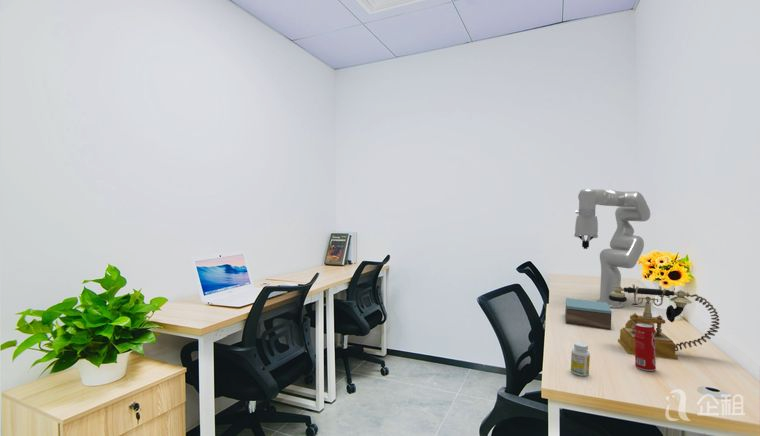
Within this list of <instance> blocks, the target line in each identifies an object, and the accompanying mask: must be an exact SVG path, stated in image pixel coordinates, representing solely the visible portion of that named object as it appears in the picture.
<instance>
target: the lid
mask: <svg viewBox="0 0 760 436" xmlns="http://www.w3.org/2000/svg"><path fill="white" fill-rule="evenodd" d="M597 301H598V300H586V299H580V298H579V299H578V298H577V299H576V298H569V297H565V308H566V307H567V309H575V310H583V311H592V312H600V313H608V314H612V308H610V307H609V305H608V303H606V302H597ZM612 315H613V314H612Z"/></svg>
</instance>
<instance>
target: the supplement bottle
mask: <svg viewBox="0 0 760 436" xmlns="http://www.w3.org/2000/svg"><path fill="white" fill-rule="evenodd" d="M573 347H574V348H572V349H571V358H570V372H571V373H572V374H574V375H577V376H580V377H585V376H586V377H587V376H589V374H590V373H589V372H590V358H591V354H590V352H589V345H588V344H587V343H584V342H579V341H576V342H574V344H573Z"/></svg>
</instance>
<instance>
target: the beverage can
mask: <svg viewBox="0 0 760 436" xmlns="http://www.w3.org/2000/svg"><path fill="white" fill-rule="evenodd" d="M654 328H655V327H653V325H651V324H646V323H636V324H635V327H634V334H635V354H634V361H635V362H634V366H635V367H636V368H637V369H639V370H642V371H647V372H654V371H655V370H657V366H656V365H657V364H656V358H657V357H655V331H656V328H655V329H654Z"/></svg>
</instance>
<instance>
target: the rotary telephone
mask: <svg viewBox="0 0 760 436" xmlns="http://www.w3.org/2000/svg"><path fill="white" fill-rule="evenodd" d="M658 288H659V289H658ZM658 288H649V287H648V288H647V287H639V286H636V285H635V284H634V283H633V284H632V287H631V286H628V287H625V286H624V287H622V286H615V289H614V290H615V292H611V295H609V299H610V300H612V301H617V302H620V303H626V301H628V300H627V299H628V298H627V297H626V293H627V294H633V302H634V303H635V304H637V305H642V304H643V302H644V300H645V301H646V302H645V304H644V311H643V313H642V315H638V314H637V313H636V312H634V313H632V314H631V315H629V319H628V320H627V321H626V323H625V327H622V328H620V331H619V338H618V339H617V342H618V343H619V345H620V346H621V347H622V348H623V349H624V351H626V353H628V355H635V334H634V327H635V324H636V323H646V324H651V325H653V327H654V329H655V358H660V359H661V358H662V359H668V360H676V361H677V360H678V359H679V358H678V355H676V352H678V351H679V349H680V350H681V351H682V350H683V347H684V348H685V349H687V345H688V346H689V348H692V344H693V346H695V347H698V345H697V343H698V344H699V345H701V346H702V345H703V343H702V342H704V343H707V342H708V340H711V339H712V337H710V336H713V337H715V336H716V334H714V333H718V332H719V331H718V330H719V329H720V327H719V325H720V324H721V323H720V322H719V321H720V319H719V318H720V315H718V311H717V308H715V307H714V305H713V304H711V302H710V301H707V298H704V297H703V296H701V295H700V296H699V295H698V294H696V293H695V294H690V293H689V291H687V292H685V290H681V289H680V290H677V291H674V290H669V289H667V288H664V289H662V286H661V285H659V286H658ZM623 292H624V293H623ZM637 295H647V296H646V297H638V298H637V297H636V296H637ZM650 296H660V303H659V304H657V303H658V302H659V299H658V298H651V297H650ZM670 296H673V297H671V298H669V301H671V302H674V303H673V304H675V306H676V307H674V306H673V305H672V304H670V305H668V306H667V307H666V310H665V311H666V312H665V316H666V318H667V321H669V322H670V323H674V321H675V319H676V317H677V318H678V316H681V314H682V313H683V311H684V309H685V307H686V305H688V304H692V303H693V302H692V301H691V300H690V299H689V297H690V298H693V297H696V298H695V299H694V301H695V302H698V303H699V304H702V305H703V306H704V305H705V308H707V311H708V312H709V311H710V312H709V314H711V315H710V317H711V318H710V319H711V322H710V323H711V324H710V326H711V327H709V328H708V329H709V330H707V331H706V333H704V335H701V337H700V338H697V339H694V340H689V341H684V342H683V341H682V342H680V343H674V341H673V340H672V339H671V338H670V337H669V336H667V335H666V334H664V333H663V329H662V325H663V324H666V320H665V319H663V316H661V315H660V314H659V315H658V316H653V314H652V307H651V304H652V303H653V305H654V306H656V307H659V306H662V305H663V303H664V302H663V301H664V297H670ZM636 298H637V299H636ZM637 300H638V301H639V302H638V301H637ZM640 300H641V302H640ZM651 300H652V303H650V302H651ZM656 302H657V303H656ZM712 320H713V321H712ZM655 324H656V328H655ZM706 339H708V340H706ZM696 342H697V343H696ZM682 346H683V347H682Z"/></svg>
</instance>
